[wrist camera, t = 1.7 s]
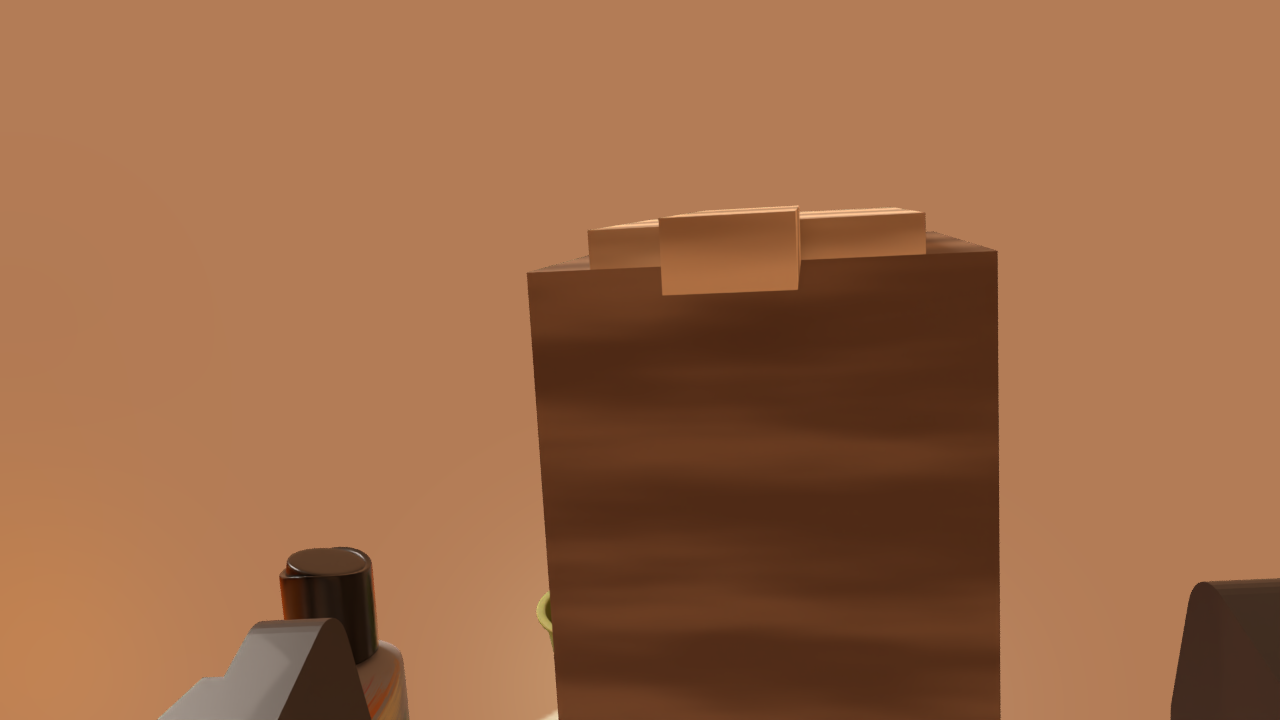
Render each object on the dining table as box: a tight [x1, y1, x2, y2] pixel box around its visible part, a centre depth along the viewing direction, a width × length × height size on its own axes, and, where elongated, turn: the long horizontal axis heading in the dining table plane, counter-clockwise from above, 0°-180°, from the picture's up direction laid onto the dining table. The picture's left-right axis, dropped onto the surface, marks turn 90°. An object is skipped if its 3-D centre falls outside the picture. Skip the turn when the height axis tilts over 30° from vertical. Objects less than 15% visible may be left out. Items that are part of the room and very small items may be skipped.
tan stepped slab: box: [588, 206, 926, 295], centre depth 33 cm, size 23×10×2 cm, turn 171°
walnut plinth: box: [527, 232, 1000, 720], centre depth 42 cm, size 16×14×32 cm
